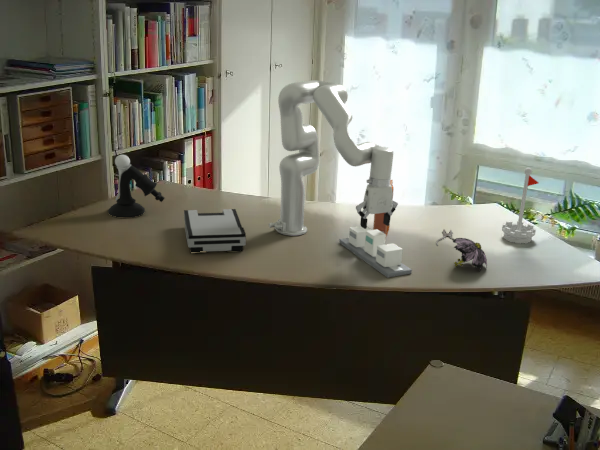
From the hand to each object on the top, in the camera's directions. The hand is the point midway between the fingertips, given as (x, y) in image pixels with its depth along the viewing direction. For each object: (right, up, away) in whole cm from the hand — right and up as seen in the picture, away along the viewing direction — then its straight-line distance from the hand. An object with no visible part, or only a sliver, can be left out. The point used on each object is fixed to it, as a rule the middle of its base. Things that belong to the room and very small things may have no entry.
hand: (374, 226), depth 254 cm
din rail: (0, -10, +3) cm, 11 cm away
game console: (-61, -6, +15) cm, 63 cm away
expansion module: (0, -10, +3) cm, 10 cm away
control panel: (+5, -3, +28) cm, 29 cm away
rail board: (0, -12, +4) cm, 12 cm away
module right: (+4, -13, -5) cm, 15 cm away
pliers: (+31, -6, +26) cm, 41 cm away
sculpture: (-97, +6, +40) cm, 105 cm away
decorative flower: (+34, -15, -1) cm, 37 cm away
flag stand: (+62, -5, +29) cm, 69 cm away
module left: (-4, -7, +12) cm, 14 cm away
